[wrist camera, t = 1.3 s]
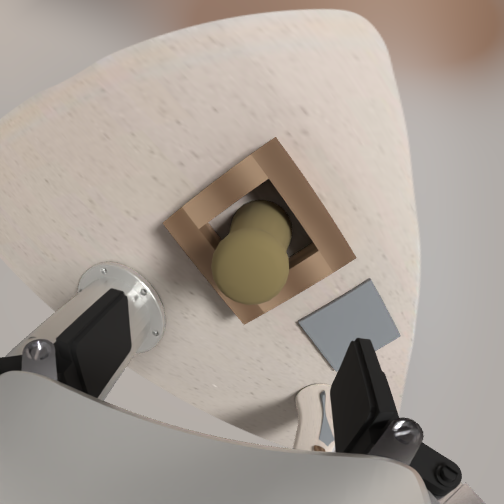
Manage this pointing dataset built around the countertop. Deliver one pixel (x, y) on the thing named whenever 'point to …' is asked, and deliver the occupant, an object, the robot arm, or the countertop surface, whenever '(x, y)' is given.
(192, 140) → the countertop surface
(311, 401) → the beer glass
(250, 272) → the olive rounded peg
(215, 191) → the wooden square frame
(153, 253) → the countertop surface
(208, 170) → the countertop surface
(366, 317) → the rubber mat
